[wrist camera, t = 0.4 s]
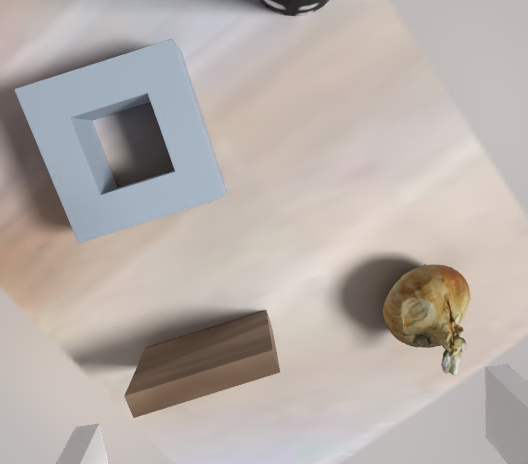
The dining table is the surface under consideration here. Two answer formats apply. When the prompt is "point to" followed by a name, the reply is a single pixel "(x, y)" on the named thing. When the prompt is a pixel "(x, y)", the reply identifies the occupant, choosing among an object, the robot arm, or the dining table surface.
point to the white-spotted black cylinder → (294, 6)
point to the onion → (430, 311)
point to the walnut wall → (203, 364)
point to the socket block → (90, 149)
